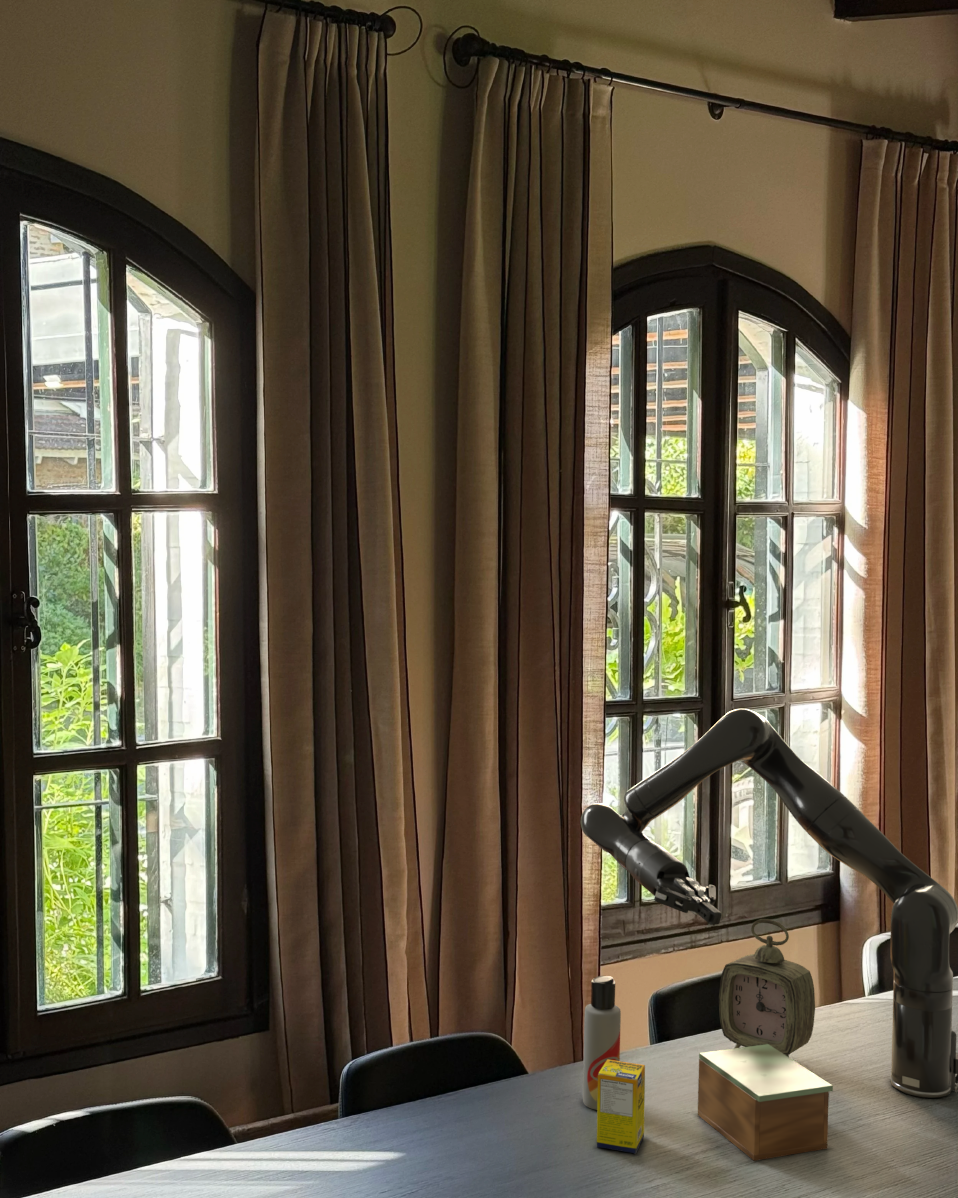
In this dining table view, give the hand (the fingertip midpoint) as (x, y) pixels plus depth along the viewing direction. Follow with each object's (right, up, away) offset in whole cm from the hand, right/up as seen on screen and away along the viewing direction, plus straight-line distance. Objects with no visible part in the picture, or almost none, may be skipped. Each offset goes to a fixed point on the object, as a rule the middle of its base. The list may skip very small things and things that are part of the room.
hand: (717, 919), depth 193 cm
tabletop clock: (+11, -28, +11) cm, 32 cm away
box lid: (+4, -19, -15) cm, 25 cm away
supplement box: (-18, -28, -20) cm, 39 cm away
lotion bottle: (-20, -28, -6) cm, 34 cm away
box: (+4, -28, -15) cm, 32 cm away
